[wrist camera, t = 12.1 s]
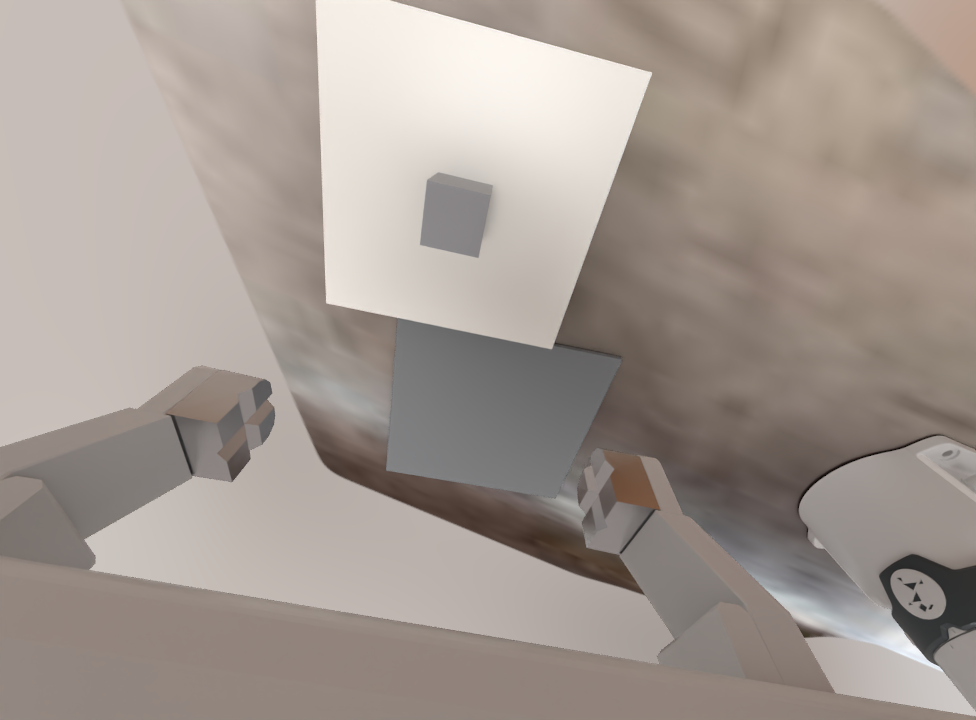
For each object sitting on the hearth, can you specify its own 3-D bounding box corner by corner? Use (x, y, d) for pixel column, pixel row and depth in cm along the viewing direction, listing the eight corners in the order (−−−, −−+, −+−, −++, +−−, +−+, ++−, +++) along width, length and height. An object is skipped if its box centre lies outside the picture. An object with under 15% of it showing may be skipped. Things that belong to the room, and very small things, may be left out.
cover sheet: (648, 73, 20) (682, 61, 16) (551, 345, 30) (558, 378, 26) (320, -17, 19) (272, -54, 15) (329, 299, 28) (301, 327, 24)
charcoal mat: (621, 356, 33) (622, 359, 32) (554, 494, 43) (555, 498, 43) (399, 312, 31) (397, 315, 31) (387, 466, 42) (386, 470, 41)
